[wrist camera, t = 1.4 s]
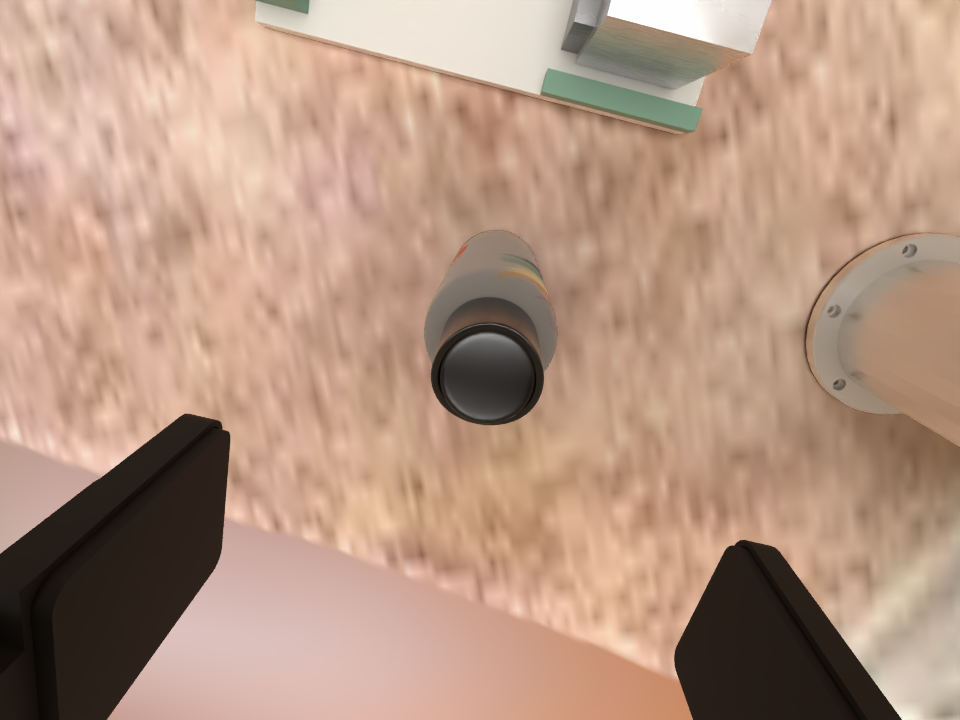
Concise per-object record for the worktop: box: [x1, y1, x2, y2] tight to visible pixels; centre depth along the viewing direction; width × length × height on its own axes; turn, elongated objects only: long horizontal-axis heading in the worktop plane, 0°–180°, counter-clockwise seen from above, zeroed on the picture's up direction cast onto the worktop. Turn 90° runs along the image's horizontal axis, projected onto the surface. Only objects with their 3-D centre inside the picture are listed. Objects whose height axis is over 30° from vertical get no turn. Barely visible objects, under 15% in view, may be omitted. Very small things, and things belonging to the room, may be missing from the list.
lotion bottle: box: [424, 230, 558, 425], centre depth 26 cm, size 6×6×20 cm
